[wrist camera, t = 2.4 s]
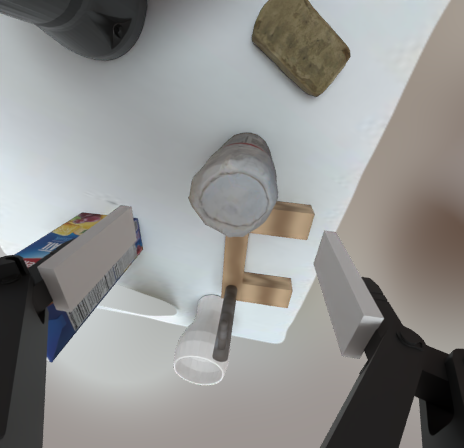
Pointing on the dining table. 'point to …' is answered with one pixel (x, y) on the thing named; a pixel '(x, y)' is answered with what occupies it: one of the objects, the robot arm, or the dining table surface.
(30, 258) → the juice carton
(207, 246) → the dining table surface
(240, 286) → the wooden stand
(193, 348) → the cup
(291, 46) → the stone block
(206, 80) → the dining table surface
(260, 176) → the spray can
